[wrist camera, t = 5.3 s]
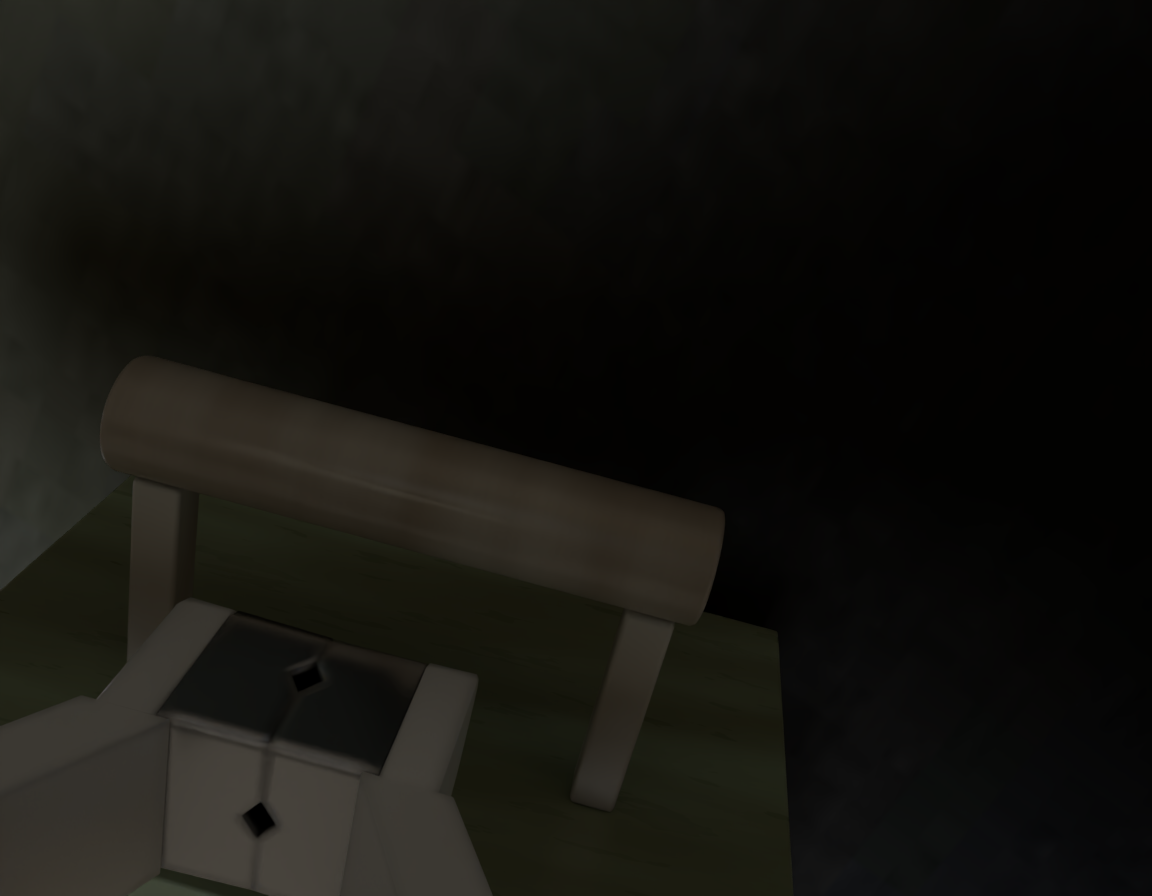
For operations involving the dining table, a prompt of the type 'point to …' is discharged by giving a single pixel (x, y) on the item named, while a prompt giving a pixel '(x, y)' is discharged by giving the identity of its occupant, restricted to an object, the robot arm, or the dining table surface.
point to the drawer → (441, 623)
